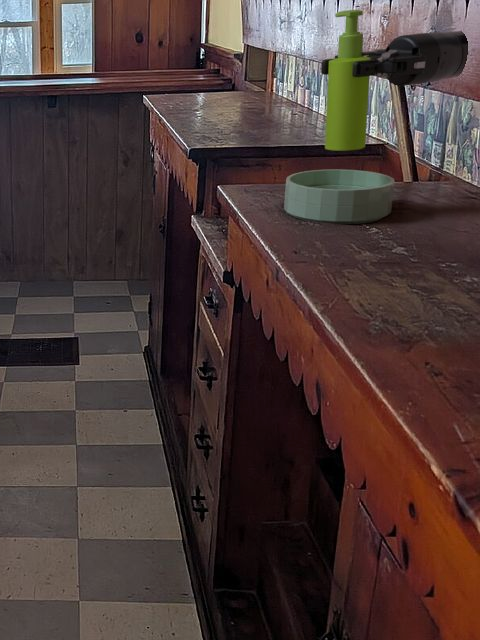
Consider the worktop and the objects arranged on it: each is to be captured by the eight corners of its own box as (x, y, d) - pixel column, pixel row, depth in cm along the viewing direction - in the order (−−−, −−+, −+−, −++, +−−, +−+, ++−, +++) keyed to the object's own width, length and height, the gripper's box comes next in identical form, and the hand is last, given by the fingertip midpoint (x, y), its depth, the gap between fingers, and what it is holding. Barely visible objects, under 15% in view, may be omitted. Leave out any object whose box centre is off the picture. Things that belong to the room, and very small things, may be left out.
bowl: (402, 207, 142) (406, 173, 140) (373, 230, 130) (377, 193, 128) (303, 198, 151) (306, 166, 149) (268, 219, 139) (271, 185, 137)
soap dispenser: (352, 142, 139) (359, 8, 131) (371, 148, 132) (381, 8, 125) (316, 145, 139) (321, 12, 131) (334, 152, 132) (341, 12, 125)
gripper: (389, 32, 140) (307, 40, 135) (465, 33, 128) (377, 43, 122) (384, 80, 143) (303, 90, 137) (457, 86, 131) (372, 98, 125)
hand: (338, 68), depth 130 cm, fingers closed on soap dispenser, 6 cm apart
